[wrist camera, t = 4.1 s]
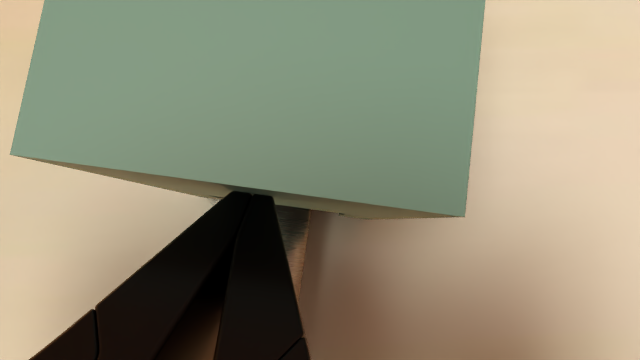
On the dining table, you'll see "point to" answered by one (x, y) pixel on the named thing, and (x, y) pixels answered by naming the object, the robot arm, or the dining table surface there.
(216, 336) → the robot arm
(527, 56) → the dining table surface
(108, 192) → the dining table surface
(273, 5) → the sage green notched block
